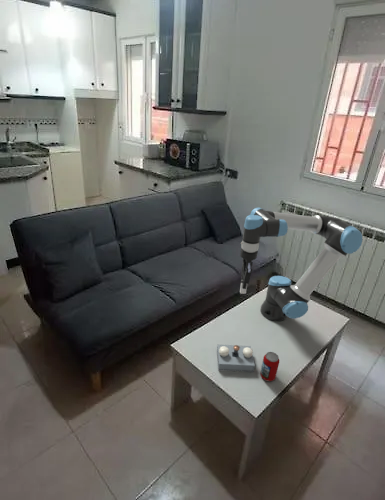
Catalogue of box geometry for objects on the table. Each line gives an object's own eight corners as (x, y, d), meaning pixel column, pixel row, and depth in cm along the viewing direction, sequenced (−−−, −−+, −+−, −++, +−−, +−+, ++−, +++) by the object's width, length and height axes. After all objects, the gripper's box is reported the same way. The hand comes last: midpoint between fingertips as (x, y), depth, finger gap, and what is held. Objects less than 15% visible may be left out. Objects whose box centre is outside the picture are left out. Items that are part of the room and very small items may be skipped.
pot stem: (238, 351, 144) (239, 345, 142) (239, 356, 142) (240, 349, 140) (232, 351, 144) (233, 344, 142) (232, 355, 141) (233, 349, 140)
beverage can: (258, 370, 141) (262, 350, 135) (272, 369, 141) (277, 350, 136) (262, 382, 135) (266, 362, 129) (277, 382, 135) (282, 362, 130)
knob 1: (227, 354, 146) (228, 346, 144) (228, 361, 142) (229, 353, 140) (218, 353, 146) (219, 346, 144) (218, 360, 142) (219, 353, 140)
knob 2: (250, 355, 146) (252, 347, 144) (252, 362, 142) (253, 354, 140) (241, 354, 146) (242, 347, 144) (242, 362, 142) (243, 354, 140)
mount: (249, 352, 150) (250, 346, 148) (253, 371, 140) (254, 365, 138) (216, 350, 150) (217, 344, 148) (218, 370, 139) (219, 363, 138)
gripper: (239, 242, 144) (233, 284, 155) (243, 255, 133) (236, 300, 143) (255, 243, 144) (248, 285, 155) (260, 256, 133) (252, 301, 143)
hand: (242, 292), depth 149 cm, fingers closed
